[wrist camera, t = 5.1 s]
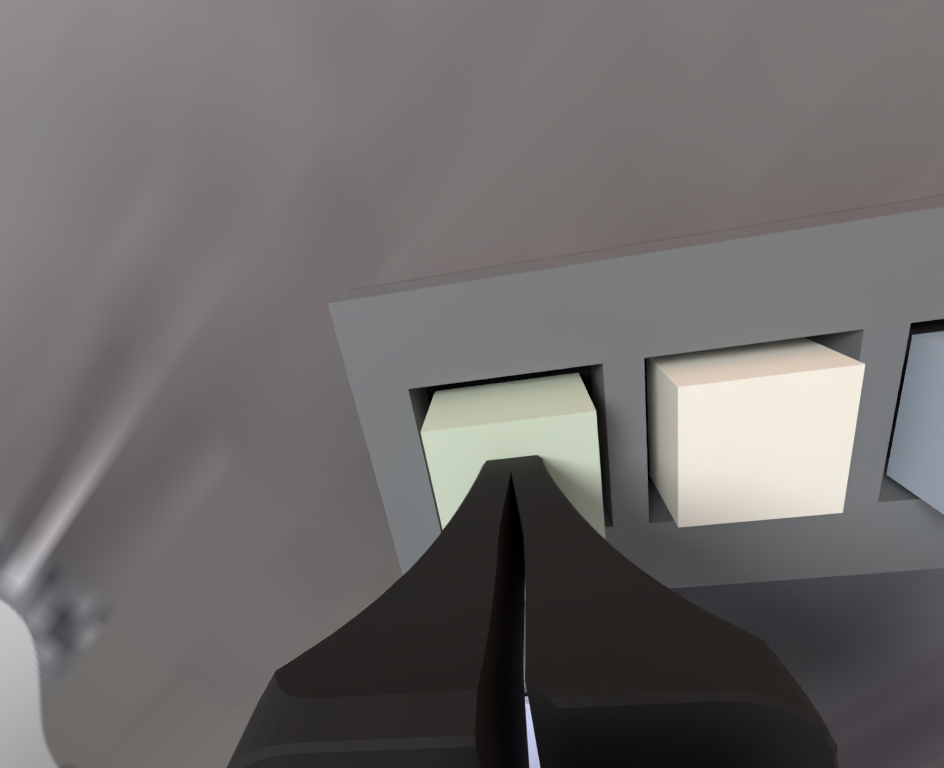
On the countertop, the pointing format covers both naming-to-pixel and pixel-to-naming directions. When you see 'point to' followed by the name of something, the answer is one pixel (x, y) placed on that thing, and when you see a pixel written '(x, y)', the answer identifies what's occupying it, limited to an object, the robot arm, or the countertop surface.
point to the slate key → (921, 422)
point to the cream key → (752, 430)
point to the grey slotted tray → (657, 334)
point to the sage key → (515, 438)
